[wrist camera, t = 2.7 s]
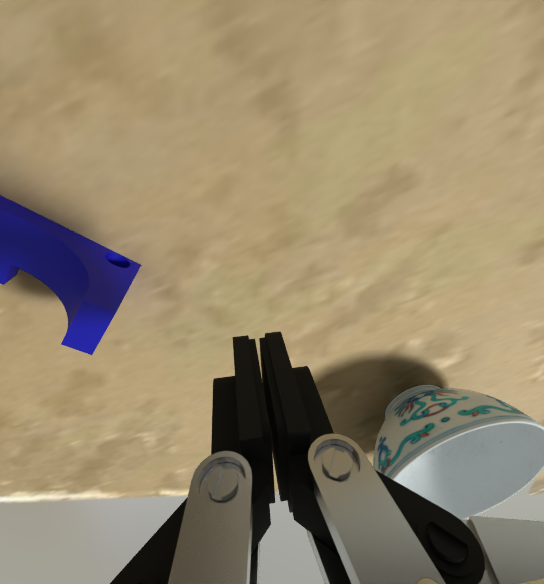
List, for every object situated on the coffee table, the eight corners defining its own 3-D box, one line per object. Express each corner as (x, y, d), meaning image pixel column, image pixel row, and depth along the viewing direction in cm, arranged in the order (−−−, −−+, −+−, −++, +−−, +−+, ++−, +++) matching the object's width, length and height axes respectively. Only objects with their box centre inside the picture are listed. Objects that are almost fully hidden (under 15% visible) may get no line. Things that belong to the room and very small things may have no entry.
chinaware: (341, 461, 35) (370, 541, 28) (353, 363, 27) (397, 441, 21) (460, 439, 37) (514, 510, 30) (502, 342, 29) (586, 407, 22)
